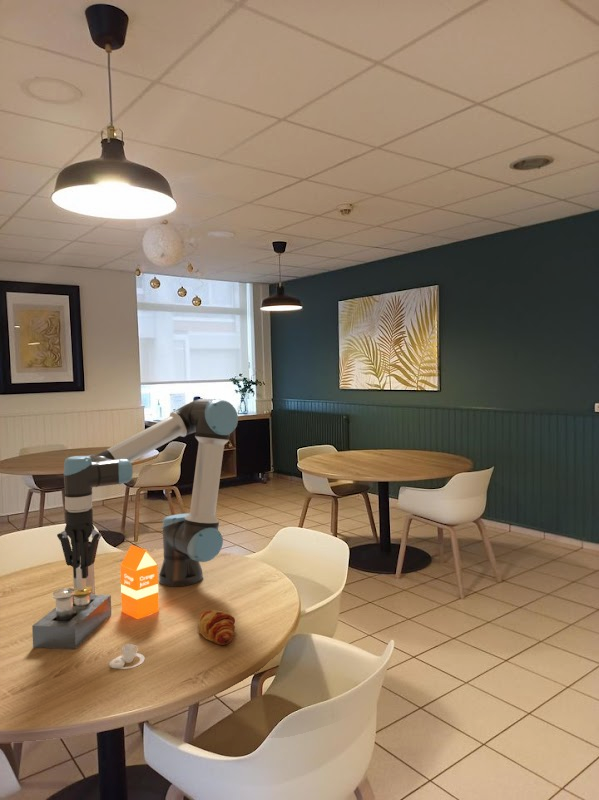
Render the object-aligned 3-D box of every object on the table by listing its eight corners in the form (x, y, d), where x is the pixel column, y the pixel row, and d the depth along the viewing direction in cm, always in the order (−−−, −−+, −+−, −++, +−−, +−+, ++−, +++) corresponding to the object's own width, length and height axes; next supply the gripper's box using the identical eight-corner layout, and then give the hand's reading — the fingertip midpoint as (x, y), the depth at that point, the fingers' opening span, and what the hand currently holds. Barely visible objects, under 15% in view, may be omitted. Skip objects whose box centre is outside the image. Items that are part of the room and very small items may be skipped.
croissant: (197, 632, 169) (184, 611, 167) (226, 611, 172) (213, 590, 171) (219, 663, 150) (204, 639, 148) (250, 638, 153) (236, 614, 151)
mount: (111, 614, 174) (110, 595, 174) (75, 649, 152) (74, 627, 152) (73, 613, 175) (73, 594, 175) (33, 647, 154) (32, 625, 153)
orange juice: (136, 619, 170) (134, 553, 170) (121, 611, 176) (119, 547, 176) (159, 611, 176) (157, 547, 175) (143, 603, 182) (141, 541, 181)
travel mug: (89, 598, 187) (87, 538, 186) (98, 604, 182) (96, 542, 181) (70, 604, 182) (68, 542, 182) (79, 610, 178) (77, 546, 177)
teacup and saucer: (110, 674, 140) (109, 658, 140) (107, 659, 147) (107, 644, 147) (147, 666, 143) (146, 650, 143) (142, 652, 151) (142, 637, 150)
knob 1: (79, 616, 161) (78, 588, 161) (69, 624, 156) (68, 595, 155) (60, 615, 162) (59, 587, 161) (50, 624, 156) (48, 595, 156)
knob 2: (96, 612, 171) (95, 586, 171) (87, 620, 166) (86, 593, 165) (78, 612, 172) (77, 585, 171) (69, 619, 166) (68, 592, 166)
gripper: (105, 506, 170) (108, 584, 171) (64, 506, 172) (66, 583, 173) (94, 512, 163) (96, 594, 164) (50, 512, 164) (53, 593, 165)
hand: (81, 588), depth 168 cm, fingers closed
